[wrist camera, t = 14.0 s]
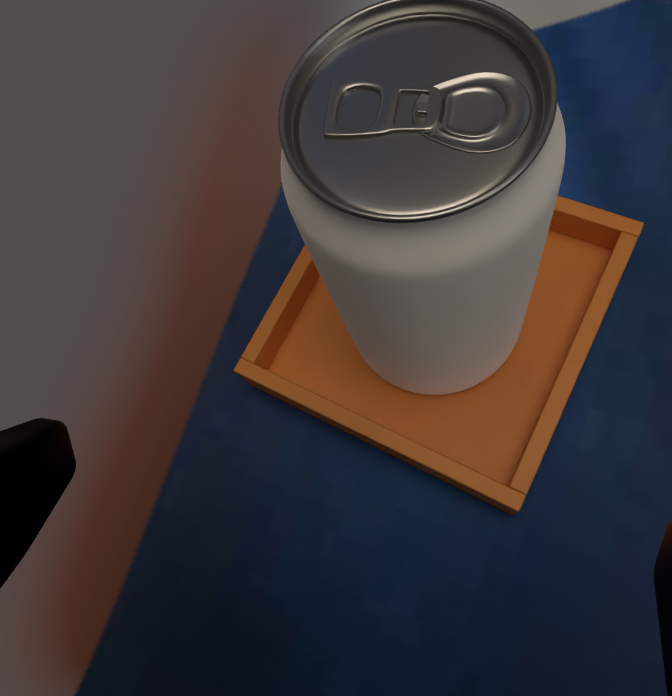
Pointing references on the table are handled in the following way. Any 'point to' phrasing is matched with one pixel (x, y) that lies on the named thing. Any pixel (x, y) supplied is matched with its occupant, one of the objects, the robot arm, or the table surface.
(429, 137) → the can
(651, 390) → the table surface
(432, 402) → the tray
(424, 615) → the table surface
